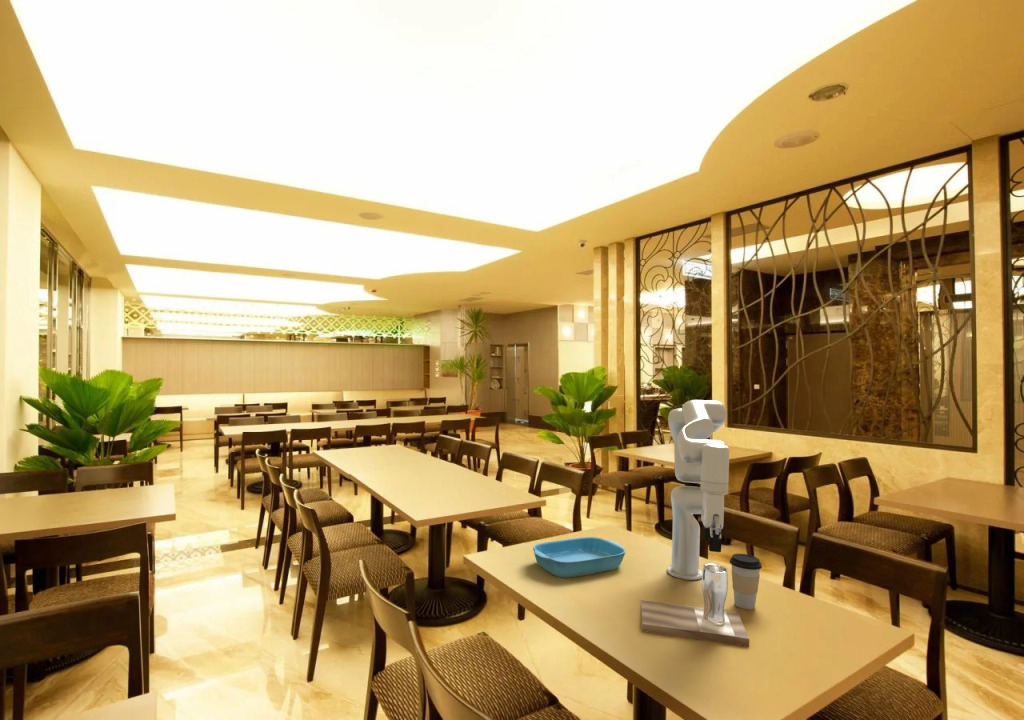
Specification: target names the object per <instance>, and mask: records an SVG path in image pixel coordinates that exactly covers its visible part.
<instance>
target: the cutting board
mask: <svg viewBox="0 0 1024 720" xmlns="http://www.w3.org/2000/svg"><path fill="white" fill-rule="evenodd" d="M703 612H704V607H698V606H692V605H691V606H690V605H682V604H674V603H666V602H659V601H651V600H644V599H641V600H640V614H641V618H640V619H641V620H642V621H641V632H646V631H648V632H647V633H653V632H655V633H654V634H662V635H668V636H675V637H681V638H682V637H683V638H688V639H696V640H697V639H698V640H704V641H711V642H716V641H717V643H725V644H730V643H731V644H730V645H737V644H740V645H739V646H744V645H747V646H746V647H749V646H750V637H749V635H748V633H747V630H746V628H745V626H744V624H743V623H744V622H742V619H741V617H740V614H739V612H736V611H729V610H724V617H725V624H723V625H712V624H709V623H707V622H705V621H704V620H703V618H702V617H703Z"/></svg>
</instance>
